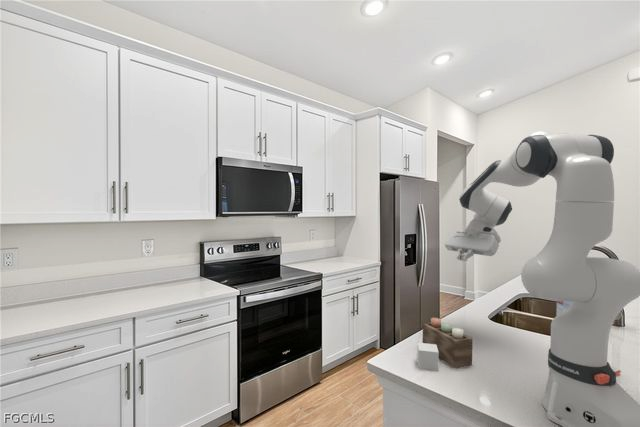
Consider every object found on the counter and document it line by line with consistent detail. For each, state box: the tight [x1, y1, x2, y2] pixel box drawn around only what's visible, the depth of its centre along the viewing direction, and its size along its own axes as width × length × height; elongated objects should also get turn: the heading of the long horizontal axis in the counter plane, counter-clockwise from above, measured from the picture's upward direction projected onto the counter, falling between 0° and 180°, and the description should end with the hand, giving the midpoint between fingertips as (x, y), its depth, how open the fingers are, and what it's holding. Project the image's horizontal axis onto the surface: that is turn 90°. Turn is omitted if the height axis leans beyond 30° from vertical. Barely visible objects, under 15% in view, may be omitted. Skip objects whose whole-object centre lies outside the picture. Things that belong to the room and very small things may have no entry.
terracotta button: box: [430, 317, 442, 328], centre depth 114 cm, size 3×3×2 cm
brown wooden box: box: [422, 322, 473, 370], centre depth 110 cm, size 16×7×9 cm, turn 20°
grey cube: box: [416, 342, 440, 372], centre depth 103 cm, size 6×6×6 cm
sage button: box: [441, 322, 453, 333], centre depth 109 cm, size 3×3×2 cm
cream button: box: [452, 327, 464, 339], centre depth 105 cm, size 3×3×2 cm
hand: (461, 259), depth 122 cm, fingers closed
